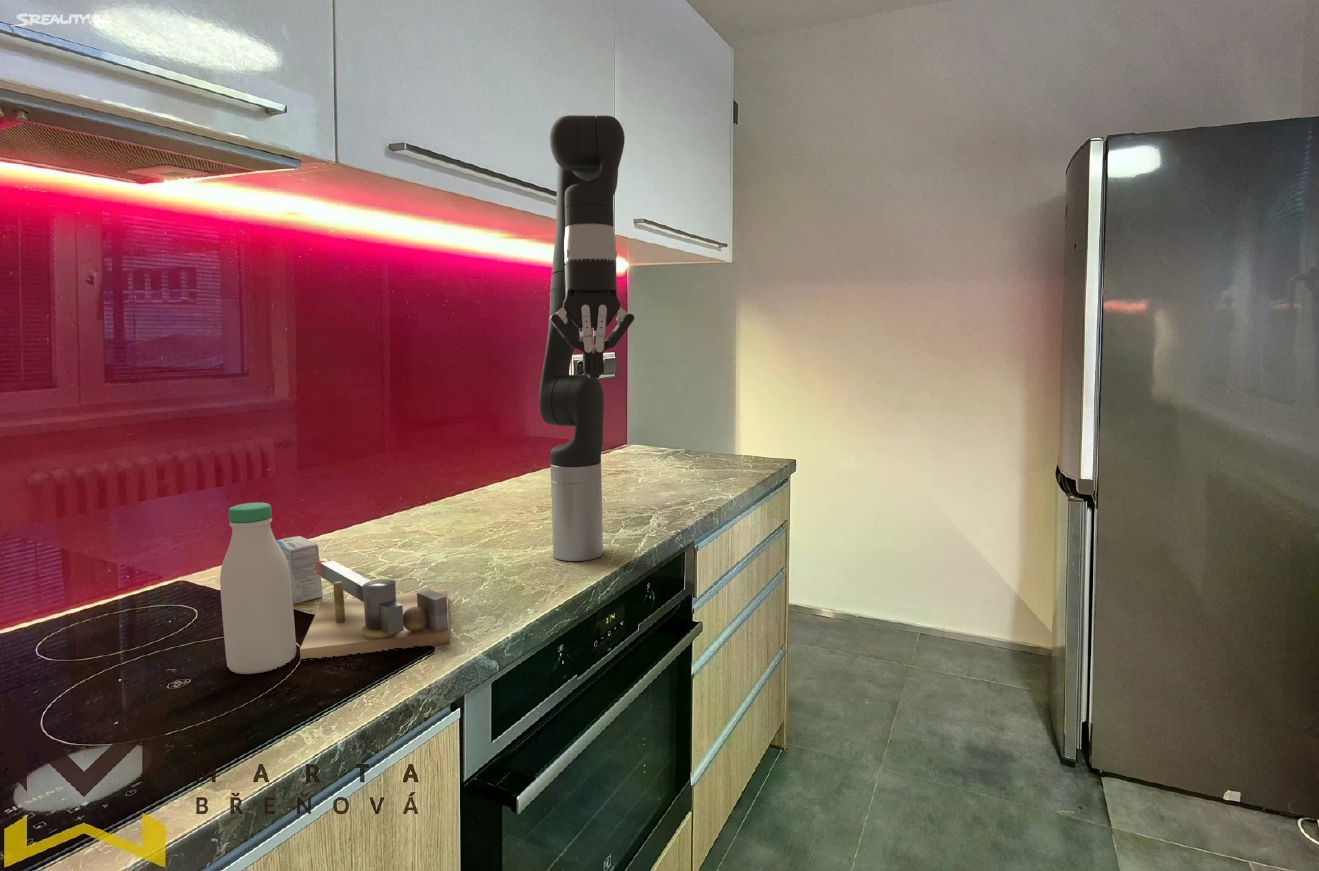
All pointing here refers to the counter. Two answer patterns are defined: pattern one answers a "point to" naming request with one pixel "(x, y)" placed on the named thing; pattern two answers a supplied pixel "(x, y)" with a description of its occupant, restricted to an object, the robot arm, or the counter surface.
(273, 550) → the milk bottle
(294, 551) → the medicine box
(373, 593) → the lever
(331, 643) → the base
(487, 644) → the counter surface
